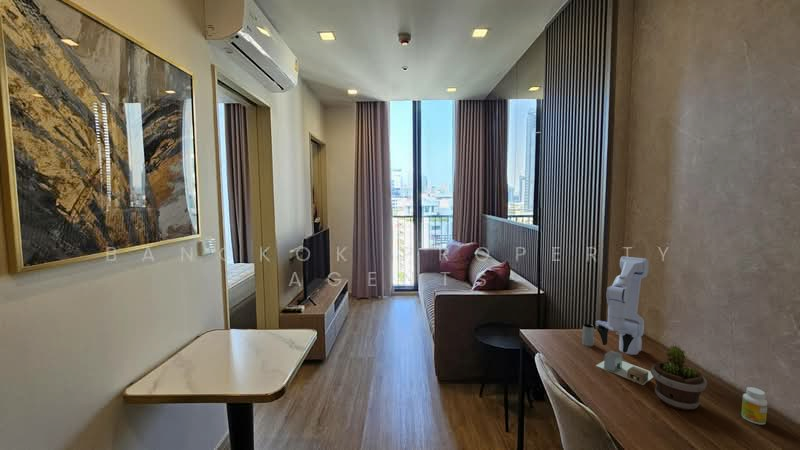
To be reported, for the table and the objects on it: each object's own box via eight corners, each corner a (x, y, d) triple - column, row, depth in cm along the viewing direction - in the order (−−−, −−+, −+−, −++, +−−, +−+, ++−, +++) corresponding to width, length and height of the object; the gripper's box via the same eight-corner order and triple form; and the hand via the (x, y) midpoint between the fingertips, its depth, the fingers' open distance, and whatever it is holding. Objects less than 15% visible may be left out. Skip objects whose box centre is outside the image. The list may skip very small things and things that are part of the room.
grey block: (611, 363, 138) (611, 350, 137) (621, 368, 134) (622, 354, 134) (604, 368, 134) (604, 354, 134) (614, 372, 131) (615, 358, 131)
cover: (633, 373, 130) (633, 366, 130) (647, 379, 126) (648, 371, 126) (627, 377, 127) (627, 370, 127) (642, 383, 123) (642, 375, 123)
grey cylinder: (589, 349, 153) (590, 328, 152) (580, 345, 157) (580, 325, 156) (595, 347, 155) (596, 326, 154) (586, 343, 159) (586, 323, 158)
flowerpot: (711, 422, 104) (716, 362, 102) (651, 406, 112) (654, 350, 110) (700, 397, 116) (704, 343, 114) (646, 385, 124) (649, 334, 123)
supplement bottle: (736, 414, 107) (738, 386, 106) (751, 413, 108) (753, 385, 107) (755, 425, 102) (757, 396, 101) (771, 424, 102) (773, 395, 102)
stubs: (636, 376, 128) (636, 373, 128) (640, 378, 127) (641, 374, 126) (632, 380, 126) (632, 376, 126) (636, 381, 125) (636, 377, 124)
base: (610, 359, 144) (611, 352, 144) (657, 376, 130) (657, 369, 129) (595, 368, 137) (595, 361, 136) (642, 388, 123) (643, 379, 122)
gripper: (592, 312, 136) (591, 344, 138) (631, 323, 124) (630, 358, 125) (601, 309, 140) (599, 339, 141) (640, 319, 128) (638, 352, 129)
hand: (614, 348), depth 134 cm, fingers open, 7 cm apart
